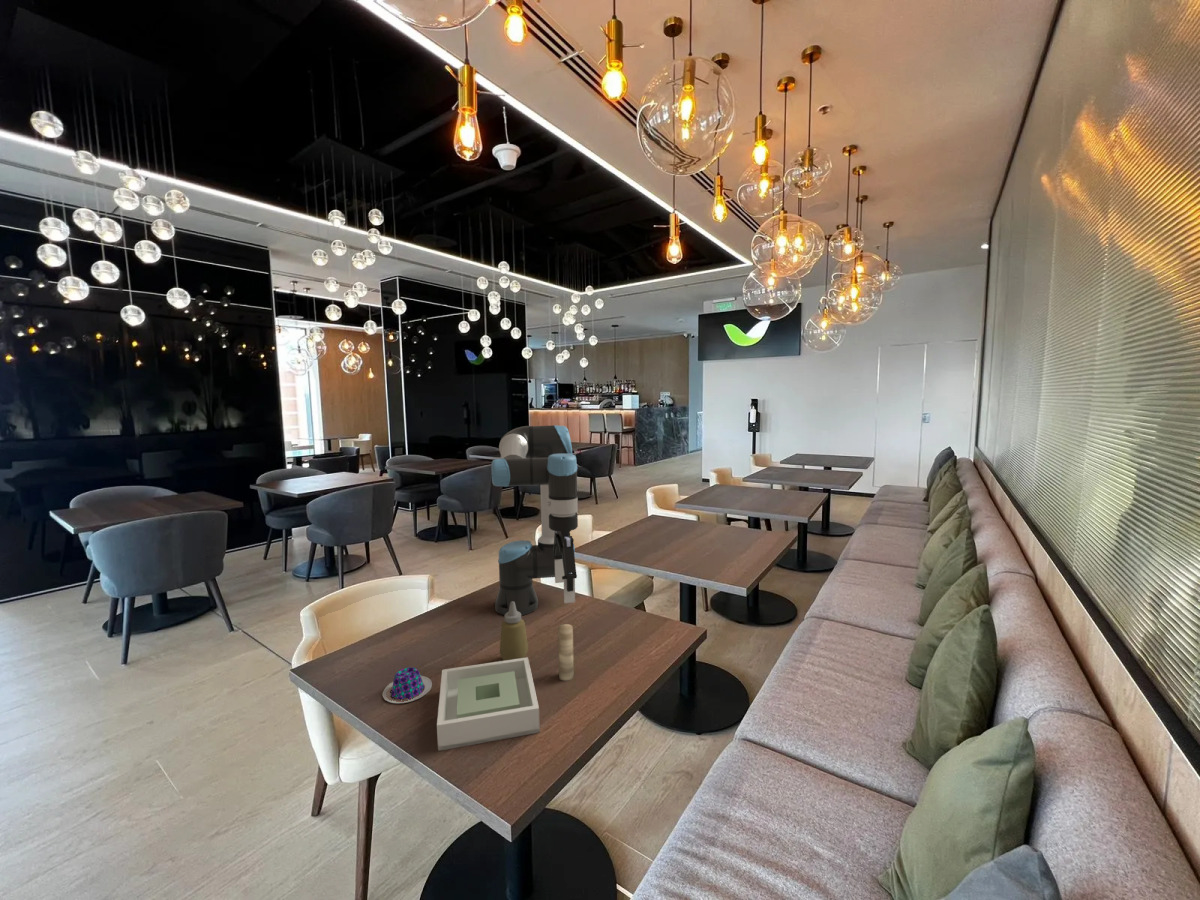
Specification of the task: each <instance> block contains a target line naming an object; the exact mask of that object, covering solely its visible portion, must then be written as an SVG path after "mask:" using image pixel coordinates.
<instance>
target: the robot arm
mask: <svg viewBox="0 0 1200 900" xmlns="http://www.w3.org/2000/svg"><path fill="white" fill-rule="evenodd" d="M570 435H571V434H570V432H569V429H568V427H567V426H565V425H557V424H554V425H525V426H523V425H522V426H520V427H515V428H514V429H512V430H510V431H508V432H506V434H504V435H503V436H502V437H501V439H500V441H499V445H498V450H499V454H500V458H496V459H493V460H492V461H491V465H490V466H491V468H490V469H491V483H492V485H493V486H495V487H504V488H507V487H524V486H540V515H541V517H540V519H541V520H540V521H541V535H540V536H539V538H537V544H534V545H533V543H532V542H531V541H530V540H524V539H520V540H514V541H511V542H508V543H506V544H504V545H502V546H501V547H500V548H499V551H498V559H497V562H498V577H499V578H498V580H499V587H498V592H497V596H496V599H495V602H494V603H495V604H494V607H495V612H496V613H498V614H500V615H501V616H505V614H506V613H507V612H509V607H510V602H512V601H514V602H515V606H516V609H517V611H518V612H520V613H521V616H525V615H528V614H531V613H533V612H535V611H536V610H537V609H538V607H539V600H538V596H537V593H536V590H535V588H534V584H533V580H534V579H547V578H548V579H549V578H554V583H555V584H558V583H559V584H560V583H563V603H564V604H572V603H576V580H575V579H577V578H578V575H577V566H576V557H575V548H576V547H575V543H574V541H575V540H574V538H573V536H572V535H571V533H570V532H572V531H574V530H576V529H577V528H578V527H579V524H578V523H579V522H578V521H579V520H578V517H579V515H578V514H577V513H578V511H579V510H578V509H579V508H578V507H579V505H578V501H579V499H578V464H577V456H576V455H575V454H573V448H572V447H573V446H572V445H573V444H572V439H571V436H570Z"/></svg>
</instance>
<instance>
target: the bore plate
mask: <svg viewBox="0 0 1200 900" xmlns="http://www.w3.org/2000/svg"><path fill="white" fill-rule="evenodd" d="M517 708H520V704H519V698H518V691H517V685H516V679H515V672H514V671H512V672H506V673H499V674H492V675H486V676H479V677H473V678H466V679H459V680H458V698H457V719H458V718H464V717H469V716H475V715H481V714H487V713H493V712H499V711H505V710H511V709H517Z"/></svg>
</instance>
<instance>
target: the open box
mask: <svg viewBox="0 0 1200 900" xmlns="http://www.w3.org/2000/svg"><path fill="white" fill-rule="evenodd" d="M512 671H514V672H515V679H516V685H517V691H518V698H519V704H520V708H517V709H511V710H505V711H499V712H493V713H487V714H481V715H475V716H469V717H464V718H458V719H457V698H458V680H459V679H466V678H473V677H479V676H486V675H492V674H499V673H506V672H512ZM440 678H441V679H440V689H439V690H440V691H439V702H438V708H437V719H436V733H437V734H436V735H437V738H436V739H437V750H438V751H437V752H440V751H446V750H451V749H453V750H454V749H457V748H462V747H463V748H464V747H469V746H474V745H479V744H484V743H485V744H486V743H490V742H495V741H501V740H507V739H510V738H516V737H517V738H518V737H522V736H527V735H529V736H530V735H534V734H539V733H540V731H541V730H540V728H541V727H540V707H539V706H540V705H539V702H538V698H537V694H536V693H537V692H536V688H535V683H534V680H533V675H532V670H531V666H530V660H529V657H527V656H526V658H519V659H513V660H506V661H503V660H498V661H493V662H485V663H480V664H478V663H477V664H472V665H466V666H458V667H452V668H445V669H441V677H440Z"/></svg>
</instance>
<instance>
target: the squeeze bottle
mask: <svg viewBox="0 0 1200 900" xmlns="http://www.w3.org/2000/svg"><path fill="white" fill-rule="evenodd" d="M499 640H500V641H499V653H500V656H501V659H502V661H506V660H513V659H519V658H526V657H527V654H528V652H529V644H528V638H527V630H526V623H525V620H524V619H522V615H521V613H520V612H518V611H517V609H516V606H515V602H514V601H512V602H510V607H509V612H507V613H506V614H505V615H504V620H503V621H502V623H501V627H500V639H499Z"/></svg>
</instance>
